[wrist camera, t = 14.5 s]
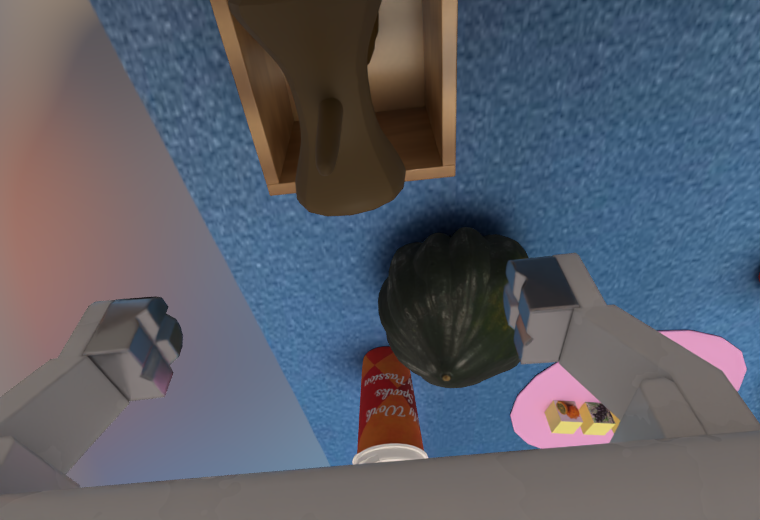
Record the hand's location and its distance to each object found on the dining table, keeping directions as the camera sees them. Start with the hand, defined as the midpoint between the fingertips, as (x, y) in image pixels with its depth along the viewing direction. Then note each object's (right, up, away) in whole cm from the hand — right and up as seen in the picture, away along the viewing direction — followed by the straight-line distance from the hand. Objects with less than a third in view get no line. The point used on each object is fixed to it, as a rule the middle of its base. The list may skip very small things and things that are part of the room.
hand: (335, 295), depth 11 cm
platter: (+36, -19, +54) cm, 68 cm away
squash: (+8, 0, +35) cm, 36 cm away
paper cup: (+2, -12, +46) cm, 47 cm away
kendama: (-2, +17, +19) cm, 26 cm away
